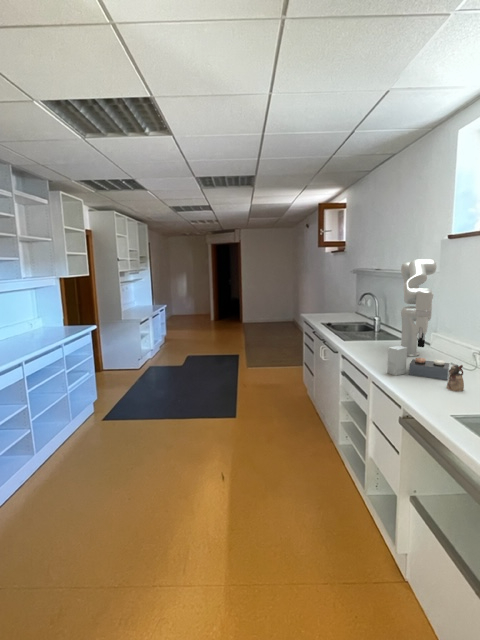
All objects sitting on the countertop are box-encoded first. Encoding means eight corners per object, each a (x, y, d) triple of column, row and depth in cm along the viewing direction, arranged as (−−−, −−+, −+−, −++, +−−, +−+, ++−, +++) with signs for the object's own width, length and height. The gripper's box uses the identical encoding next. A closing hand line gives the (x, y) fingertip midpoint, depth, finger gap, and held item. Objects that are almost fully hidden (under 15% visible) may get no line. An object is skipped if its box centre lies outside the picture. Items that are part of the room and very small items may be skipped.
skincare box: (397, 370, 202) (398, 345, 200) (406, 373, 197) (407, 347, 195) (386, 373, 199) (387, 346, 196) (395, 376, 193) (396, 349, 191)
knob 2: (433, 372, 196) (434, 359, 194) (444, 374, 193) (445, 360, 192) (432, 375, 192) (433, 361, 190) (443, 376, 189) (444, 362, 188)
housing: (412, 369, 205) (412, 358, 204) (448, 373, 195) (449, 363, 194) (408, 374, 195) (409, 364, 194) (447, 380, 185) (447, 368, 184)
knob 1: (415, 370, 201) (416, 357, 199) (425, 371, 198) (426, 358, 197) (413, 372, 196) (414, 359, 195) (424, 374, 194) (425, 360, 193)
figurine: (446, 385, 178) (448, 361, 176) (463, 387, 174) (465, 363, 172) (446, 389, 172) (447, 365, 170) (463, 392, 168) (465, 367, 166)
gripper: (417, 310, 200) (415, 342, 204) (413, 315, 188) (411, 349, 192) (432, 311, 196) (430, 344, 200) (429, 316, 184) (426, 351, 188)
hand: (420, 346), depth 196 cm, fingers closed
